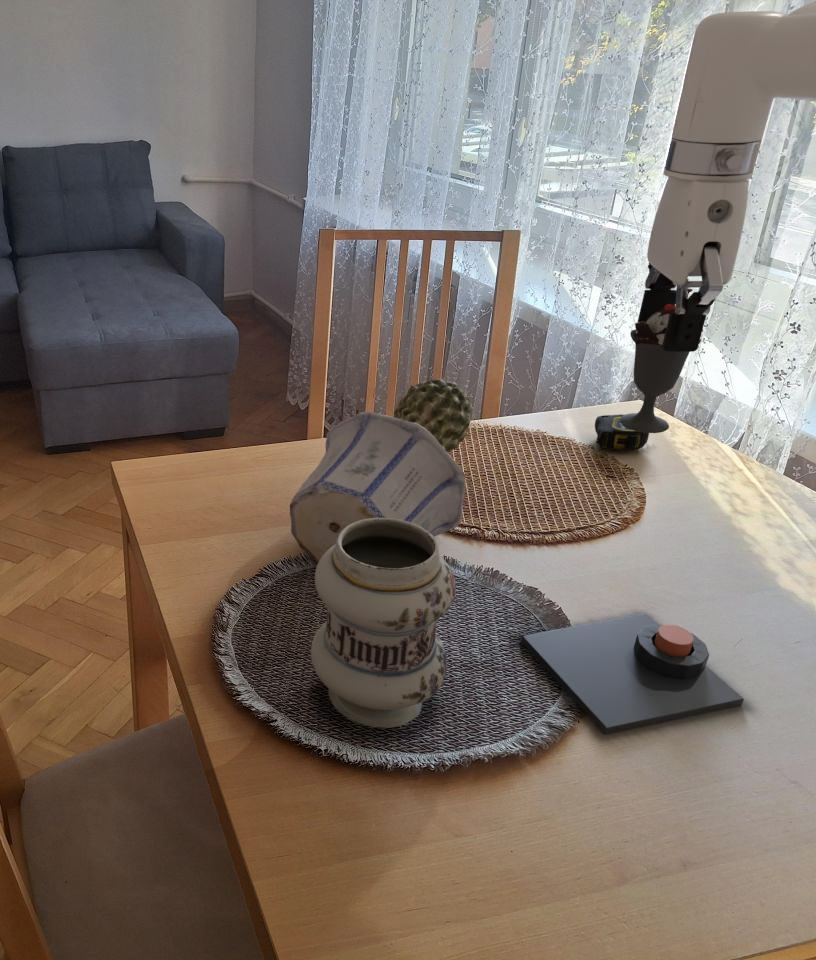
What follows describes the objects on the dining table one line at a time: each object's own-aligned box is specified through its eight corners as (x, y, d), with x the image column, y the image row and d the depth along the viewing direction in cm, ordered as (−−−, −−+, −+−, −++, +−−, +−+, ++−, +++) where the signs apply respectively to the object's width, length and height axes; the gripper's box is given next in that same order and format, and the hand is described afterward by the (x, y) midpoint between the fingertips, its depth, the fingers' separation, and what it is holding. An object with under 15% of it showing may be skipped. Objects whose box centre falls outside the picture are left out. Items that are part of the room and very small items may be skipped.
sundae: (680, 418, 96) (715, 286, 89) (674, 441, 91) (711, 303, 84) (615, 407, 99) (644, 279, 92) (606, 429, 94) (636, 295, 87)
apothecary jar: (325, 648, 87) (335, 495, 79) (447, 676, 83) (472, 518, 74) (293, 730, 78) (300, 567, 69) (429, 767, 74) (455, 597, 65)
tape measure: (591, 432, 128) (596, 409, 126) (642, 438, 125) (648, 415, 124) (593, 452, 122) (598, 429, 120) (647, 459, 120) (653, 435, 118)
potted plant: (415, 507, 83) (524, 347, 100) (259, 466, 93) (381, 327, 110) (422, 627, 94) (520, 464, 110) (282, 578, 104) (390, 436, 121)
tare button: (674, 634, 83) (678, 622, 82) (697, 654, 81) (701, 641, 80) (647, 640, 83) (650, 627, 82) (669, 660, 80) (673, 647, 79)
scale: (645, 623, 89) (652, 599, 87) (743, 711, 78) (754, 684, 76) (519, 647, 86) (524, 622, 85) (602, 741, 75) (610, 714, 74)
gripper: (798, 174, 74) (739, 369, 82) (714, 145, 89) (672, 312, 97) (704, 176, 75) (656, 368, 83) (637, 146, 90) (602, 312, 98)
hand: (665, 336), depth 90 cm, fingers closed on sundae, 6 cm apart
